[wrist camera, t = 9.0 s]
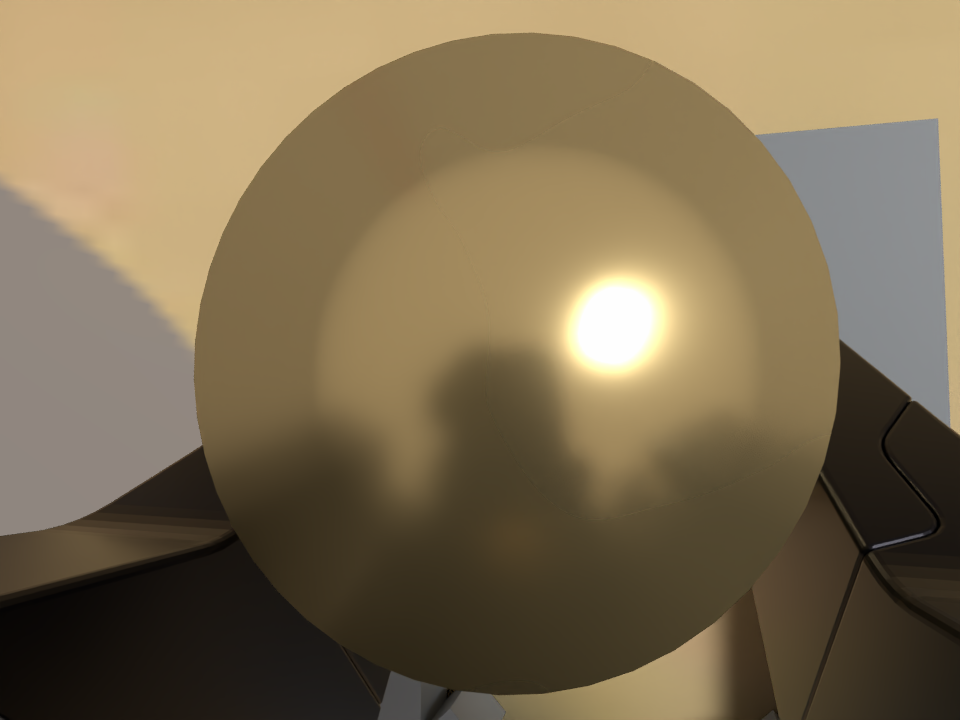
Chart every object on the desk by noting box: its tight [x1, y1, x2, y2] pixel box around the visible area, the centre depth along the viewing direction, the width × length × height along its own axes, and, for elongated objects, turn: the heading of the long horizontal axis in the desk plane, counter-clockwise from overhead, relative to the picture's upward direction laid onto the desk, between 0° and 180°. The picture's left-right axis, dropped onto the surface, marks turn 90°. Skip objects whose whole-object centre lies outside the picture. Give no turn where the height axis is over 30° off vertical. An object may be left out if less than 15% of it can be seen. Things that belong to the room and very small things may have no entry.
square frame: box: [378, 119, 950, 720], centre depth 15 cm, size 16×13×2 cm
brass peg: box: [194, 33, 841, 695], centre depth 10 cm, size 5×5×13 cm
